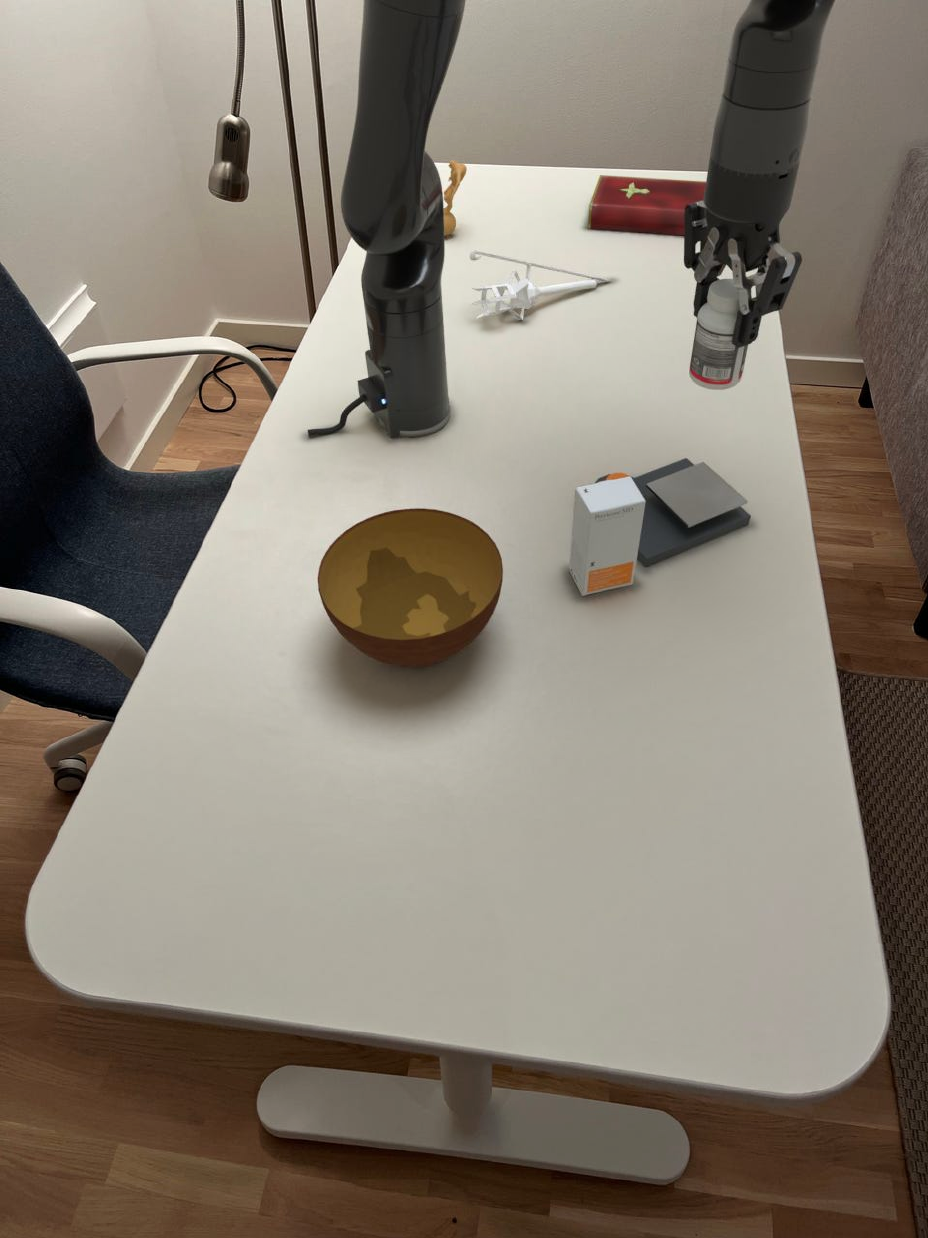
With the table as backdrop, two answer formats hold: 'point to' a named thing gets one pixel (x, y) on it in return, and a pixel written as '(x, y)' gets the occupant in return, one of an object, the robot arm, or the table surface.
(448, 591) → the bowl
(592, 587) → the cosmetic box
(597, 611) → the table surface
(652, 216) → the hardcover book
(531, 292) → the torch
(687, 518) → the weighing pan
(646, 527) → the scale
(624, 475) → the tare button
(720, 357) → the pill bottle
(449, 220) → the figurine
